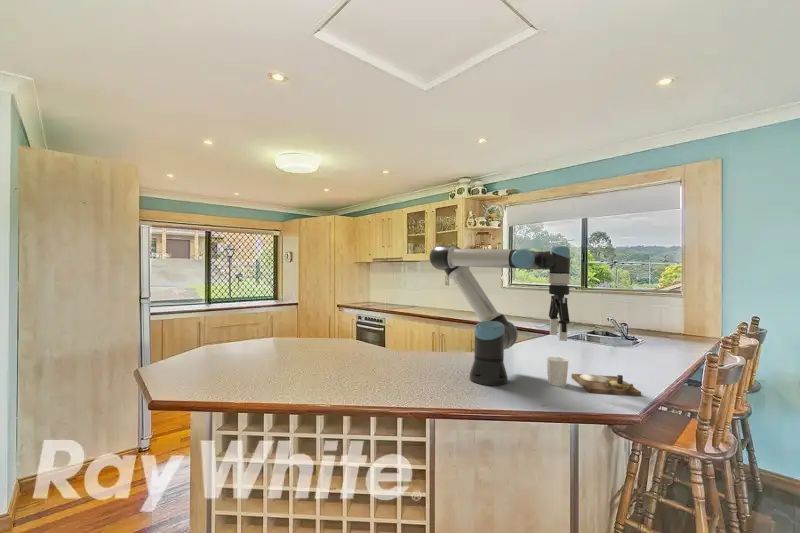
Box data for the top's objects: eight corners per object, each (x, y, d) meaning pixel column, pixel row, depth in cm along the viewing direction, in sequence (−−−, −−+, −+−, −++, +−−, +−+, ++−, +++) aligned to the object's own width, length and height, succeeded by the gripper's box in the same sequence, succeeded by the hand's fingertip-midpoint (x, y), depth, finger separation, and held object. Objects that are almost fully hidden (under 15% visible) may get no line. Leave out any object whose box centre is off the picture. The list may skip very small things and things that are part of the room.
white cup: (564, 381, 154) (564, 357, 155) (570, 387, 147) (571, 361, 147) (544, 380, 155) (544, 356, 155) (549, 386, 147) (550, 360, 148)
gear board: (588, 392, 141) (589, 377, 141) (571, 377, 162) (571, 363, 162) (640, 396, 138) (641, 380, 138) (616, 380, 159) (616, 366, 159)
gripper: (579, 286, 139) (578, 343, 138) (560, 284, 163) (558, 333, 163) (558, 285, 140) (556, 342, 139) (542, 283, 164) (540, 332, 164)
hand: (558, 337), depth 151 cm, fingers open, 13 cm apart
